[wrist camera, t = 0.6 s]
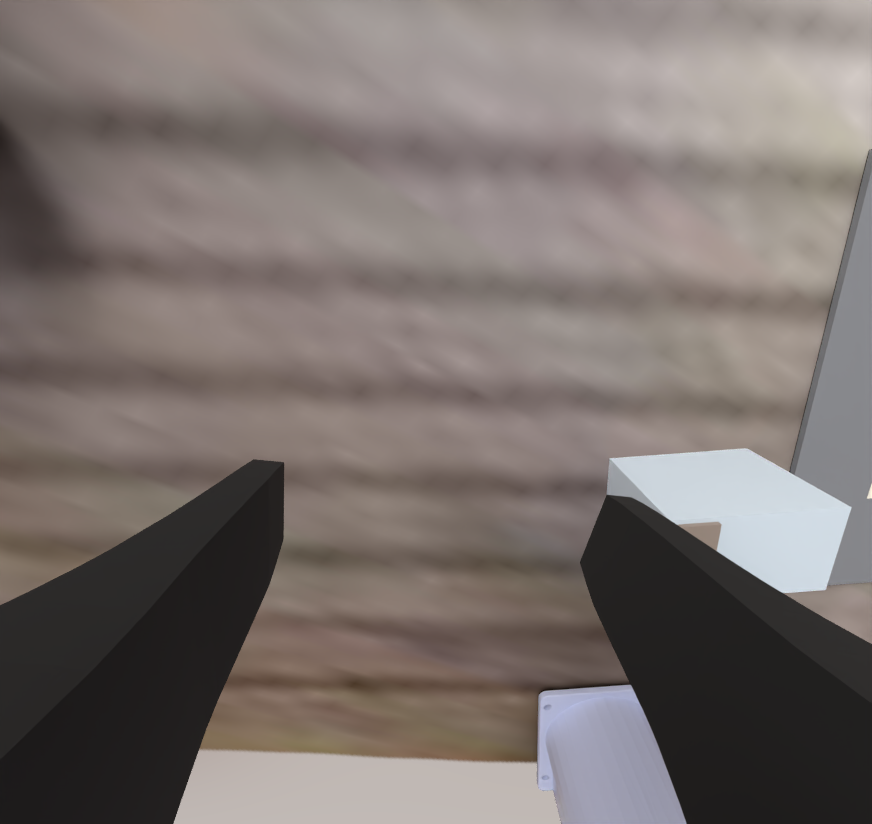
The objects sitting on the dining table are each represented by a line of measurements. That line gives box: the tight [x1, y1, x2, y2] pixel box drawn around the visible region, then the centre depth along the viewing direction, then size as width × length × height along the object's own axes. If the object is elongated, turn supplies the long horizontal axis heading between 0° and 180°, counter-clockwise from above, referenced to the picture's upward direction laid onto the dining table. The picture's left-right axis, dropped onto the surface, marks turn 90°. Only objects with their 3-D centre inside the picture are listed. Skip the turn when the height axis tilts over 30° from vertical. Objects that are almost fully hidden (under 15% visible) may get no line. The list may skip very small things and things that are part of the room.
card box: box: [607, 448, 852, 593], centre depth 19 cm, size 4×7×6 cm, turn 94°
